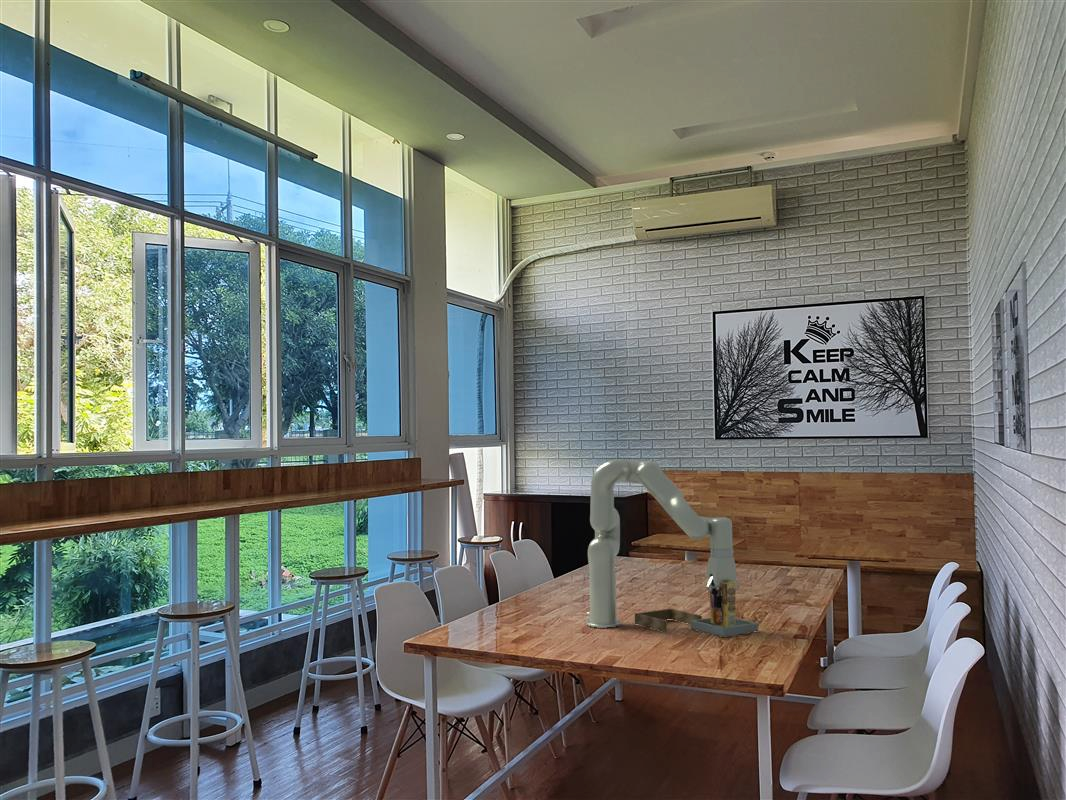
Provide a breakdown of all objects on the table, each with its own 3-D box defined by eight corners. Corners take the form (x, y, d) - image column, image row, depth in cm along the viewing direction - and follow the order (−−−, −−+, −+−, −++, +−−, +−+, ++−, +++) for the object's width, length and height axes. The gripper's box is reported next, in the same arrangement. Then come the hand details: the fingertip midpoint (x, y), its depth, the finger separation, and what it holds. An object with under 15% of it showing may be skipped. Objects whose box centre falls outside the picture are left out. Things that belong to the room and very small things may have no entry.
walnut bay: (634, 624, 293) (634, 613, 294) (671, 619, 302) (671, 608, 302) (664, 633, 279) (664, 621, 279) (701, 627, 288) (701, 615, 288)
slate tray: (690, 629, 284) (690, 620, 285) (725, 623, 293) (724, 615, 293) (723, 637, 271) (723, 628, 271) (758, 631, 279) (757, 623, 279)
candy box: (737, 626, 279) (735, 581, 280) (727, 627, 277) (726, 582, 278) (719, 621, 287) (718, 577, 288) (710, 623, 285) (708, 579, 286)
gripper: (731, 550, 291) (733, 602, 290) (696, 554, 282) (697, 607, 281) (747, 552, 284) (748, 605, 283) (711, 556, 276) (712, 611, 275)
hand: (723, 606), depth 282 cm, fingers closed on candy box, 4 cm apart
